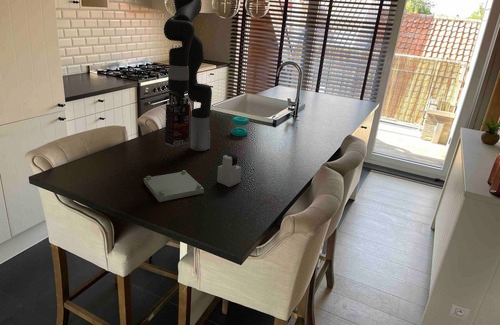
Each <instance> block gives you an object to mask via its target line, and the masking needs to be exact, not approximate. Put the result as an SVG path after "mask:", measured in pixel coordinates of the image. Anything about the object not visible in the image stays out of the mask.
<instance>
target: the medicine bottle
mask: <svg viewBox="0 0 500 325" xmlns="http://www.w3.org/2000/svg"><path fill="white" fill-rule="evenodd" d="M241 175H242V167H241V166H239V165H238V156H237V155H235V154H232V153H228V154H224V155H223V156H222V164H221V165H218V166H217V178H216V181H217V183H219V184H221V185H223V186H226V187H227V188H230V187H232V186H235V185H237V184H239V183H241V178H242V176H241Z"/></svg>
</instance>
